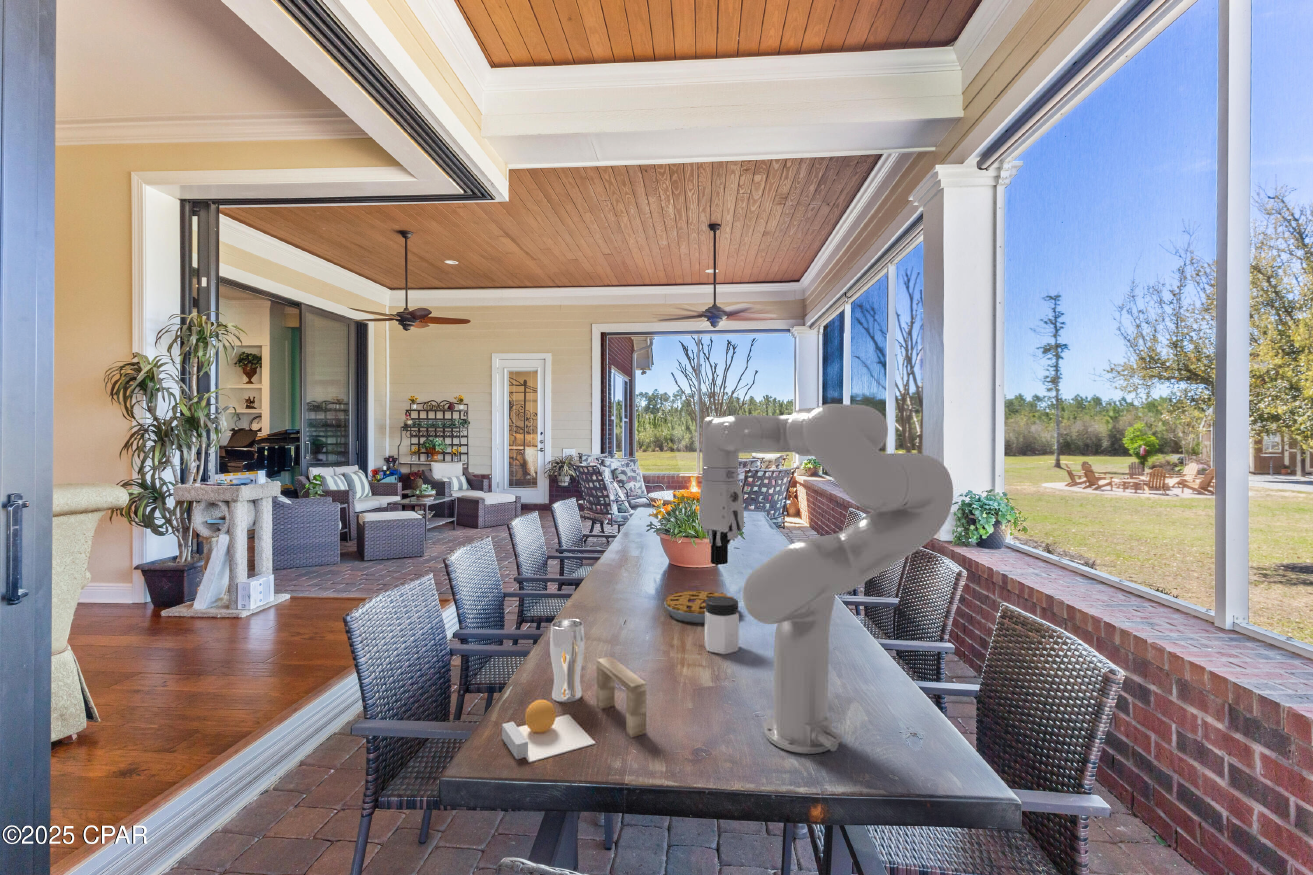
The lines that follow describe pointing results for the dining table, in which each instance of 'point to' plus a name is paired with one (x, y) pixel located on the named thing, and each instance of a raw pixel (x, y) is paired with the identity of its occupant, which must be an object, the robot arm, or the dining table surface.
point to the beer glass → (567, 658)
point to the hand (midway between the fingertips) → (719, 563)
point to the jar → (721, 625)
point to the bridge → (634, 699)
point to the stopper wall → (515, 740)
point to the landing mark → (555, 739)
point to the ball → (540, 716)
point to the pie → (689, 605)
